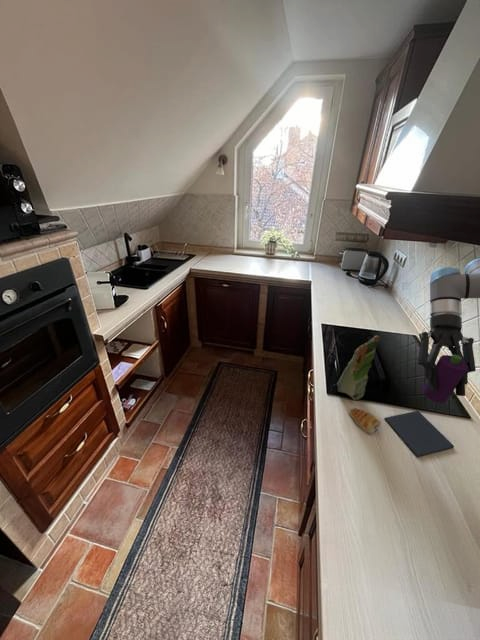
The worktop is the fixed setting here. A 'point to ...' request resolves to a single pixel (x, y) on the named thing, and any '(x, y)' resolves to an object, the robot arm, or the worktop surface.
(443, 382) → the aubergine
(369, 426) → the pastry
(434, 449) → the mat
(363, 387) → the pouch
